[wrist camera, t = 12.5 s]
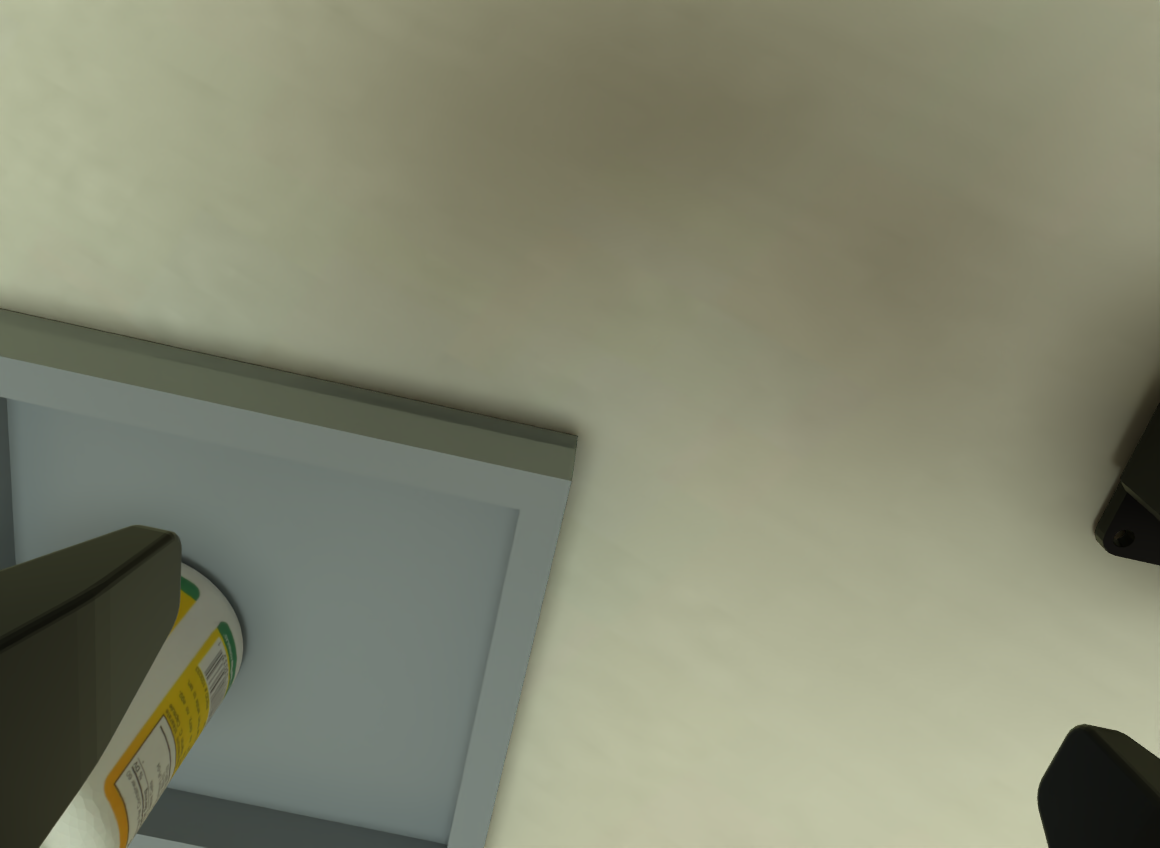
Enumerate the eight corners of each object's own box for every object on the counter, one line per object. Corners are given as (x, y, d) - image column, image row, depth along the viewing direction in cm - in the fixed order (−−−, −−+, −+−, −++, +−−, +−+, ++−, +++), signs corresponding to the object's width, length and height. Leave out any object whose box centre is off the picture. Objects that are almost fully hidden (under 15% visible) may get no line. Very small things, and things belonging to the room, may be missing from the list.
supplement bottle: (287, 660, 24) (90, 1011, 15) (141, 725, 25) (-118, 1084, 17) (163, 508, 22) (-139, 806, 14) (14, 587, 24) (-350, 906, 15)
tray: (578, 436, 22) (571, 481, 20) (479, 851, 28) (465, 924, 26) (-17, 305, 21) (-94, 335, 19) (11, 757, 27) (-46, 821, 25)
